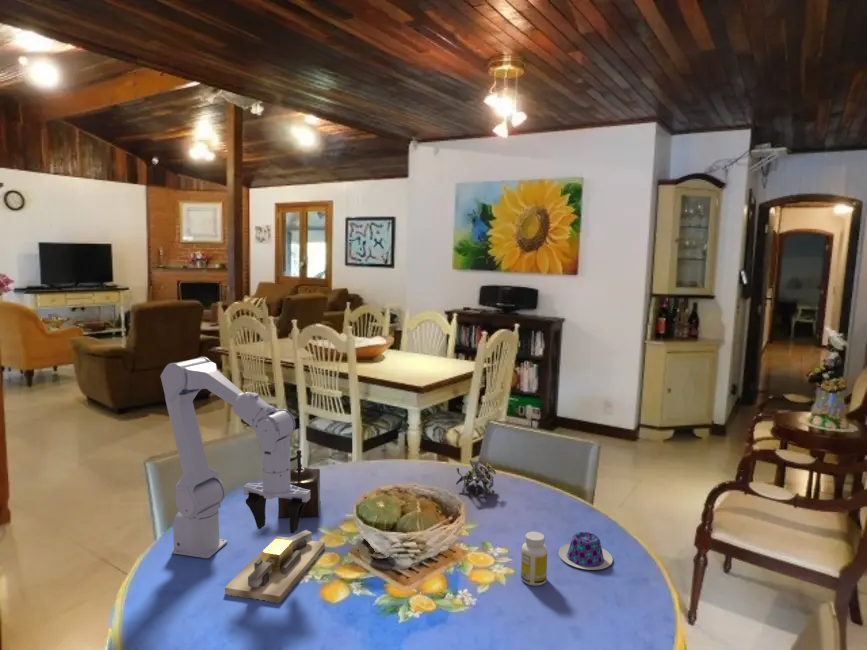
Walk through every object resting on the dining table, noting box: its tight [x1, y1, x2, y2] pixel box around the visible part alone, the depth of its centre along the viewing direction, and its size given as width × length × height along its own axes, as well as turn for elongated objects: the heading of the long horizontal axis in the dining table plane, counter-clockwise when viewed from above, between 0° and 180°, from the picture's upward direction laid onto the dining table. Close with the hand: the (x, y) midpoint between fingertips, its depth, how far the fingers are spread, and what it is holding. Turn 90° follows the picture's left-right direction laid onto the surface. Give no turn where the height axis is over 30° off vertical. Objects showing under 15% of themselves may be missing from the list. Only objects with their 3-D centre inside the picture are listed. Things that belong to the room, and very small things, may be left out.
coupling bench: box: [224, 529, 326, 604], centre depth 128 cm, size 12×22×4 cm, turn 167°
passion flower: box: [455, 458, 497, 496], centre depth 170 cm, size 11×11×12 cm
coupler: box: [262, 538, 293, 573], centre depth 127 cm, size 4×7×4 cm, turn 167°
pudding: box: [558, 531, 614, 571], centre depth 135 cm, size 12×12×5 cm
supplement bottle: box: [520, 531, 548, 587], centre depth 125 cm, size 5×5×10 cm
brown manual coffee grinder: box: [277, 449, 322, 519], centre depth 156 cm, size 16×11×18 cm
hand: (277, 529), depth 127 cm, fingers open, 7 cm apart
